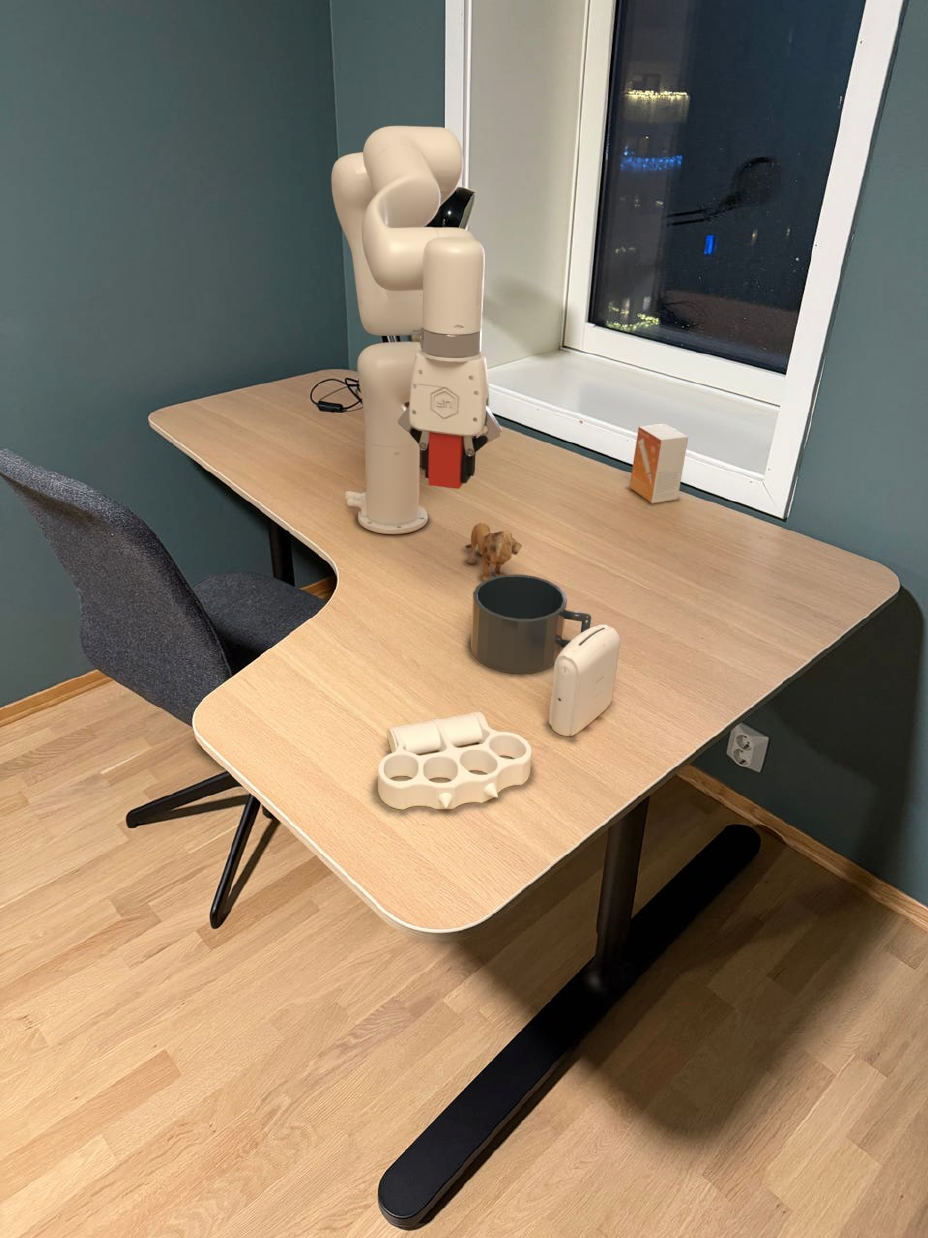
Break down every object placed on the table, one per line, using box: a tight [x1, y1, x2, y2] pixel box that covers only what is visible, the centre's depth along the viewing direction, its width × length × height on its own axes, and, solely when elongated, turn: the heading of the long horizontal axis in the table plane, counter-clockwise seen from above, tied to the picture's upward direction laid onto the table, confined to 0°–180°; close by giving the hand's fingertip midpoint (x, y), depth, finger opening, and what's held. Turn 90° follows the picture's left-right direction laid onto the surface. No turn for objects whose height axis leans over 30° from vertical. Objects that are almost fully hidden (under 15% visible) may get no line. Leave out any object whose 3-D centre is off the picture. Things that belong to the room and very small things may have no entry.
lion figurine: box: [464, 522, 523, 581], centre depth 143 cm, size 15×5×9 cm, turn 28°
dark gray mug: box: [470, 573, 592, 675], centre depth 122 cm, size 16×13×8 cm
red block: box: [427, 432, 465, 490], centre depth 120 cm, size 4×4×8 cm
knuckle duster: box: [377, 710, 533, 811], centre depth 101 cm, size 3×18×15 cm
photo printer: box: [548, 624, 621, 737], centre depth 109 cm, size 10×4×12 cm, turn 140°
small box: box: [629, 423, 689, 504], centre depth 171 cm, size 8×6×13 cm
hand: (448, 475), depth 121 cm, fingers closed on red block, 4 cm apart
